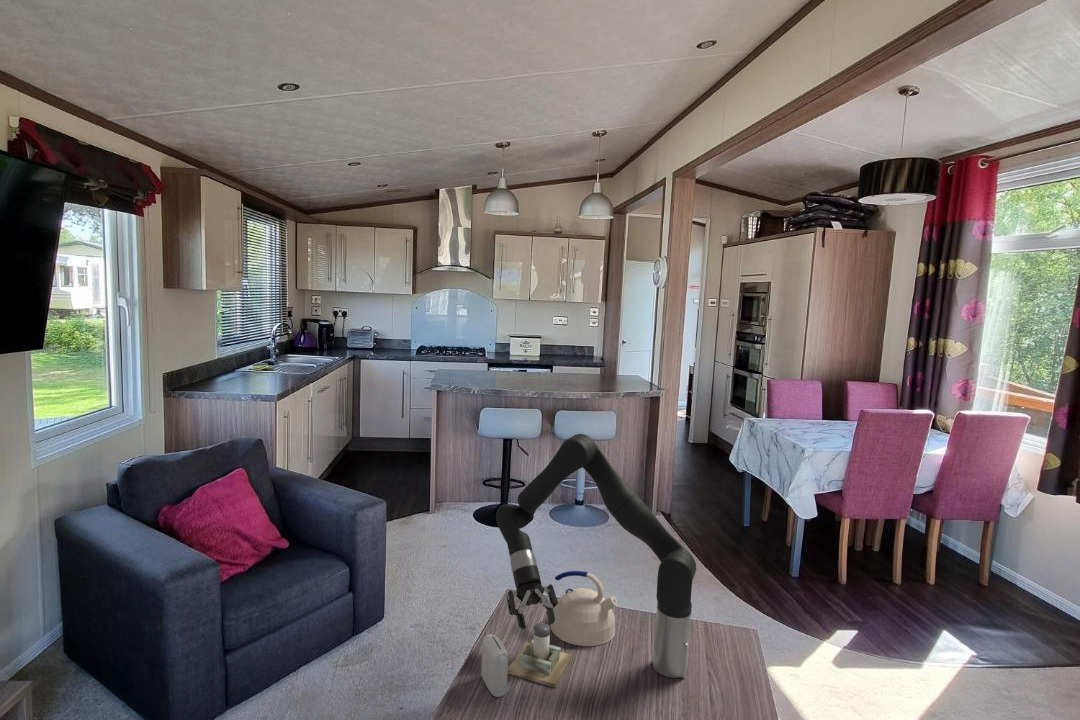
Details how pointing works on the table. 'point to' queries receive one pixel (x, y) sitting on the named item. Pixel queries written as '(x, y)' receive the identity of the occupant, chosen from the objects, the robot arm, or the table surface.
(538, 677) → the holder
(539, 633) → the grey and white cylinder
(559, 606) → the kettle
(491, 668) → the photo printer
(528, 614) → the table surface
